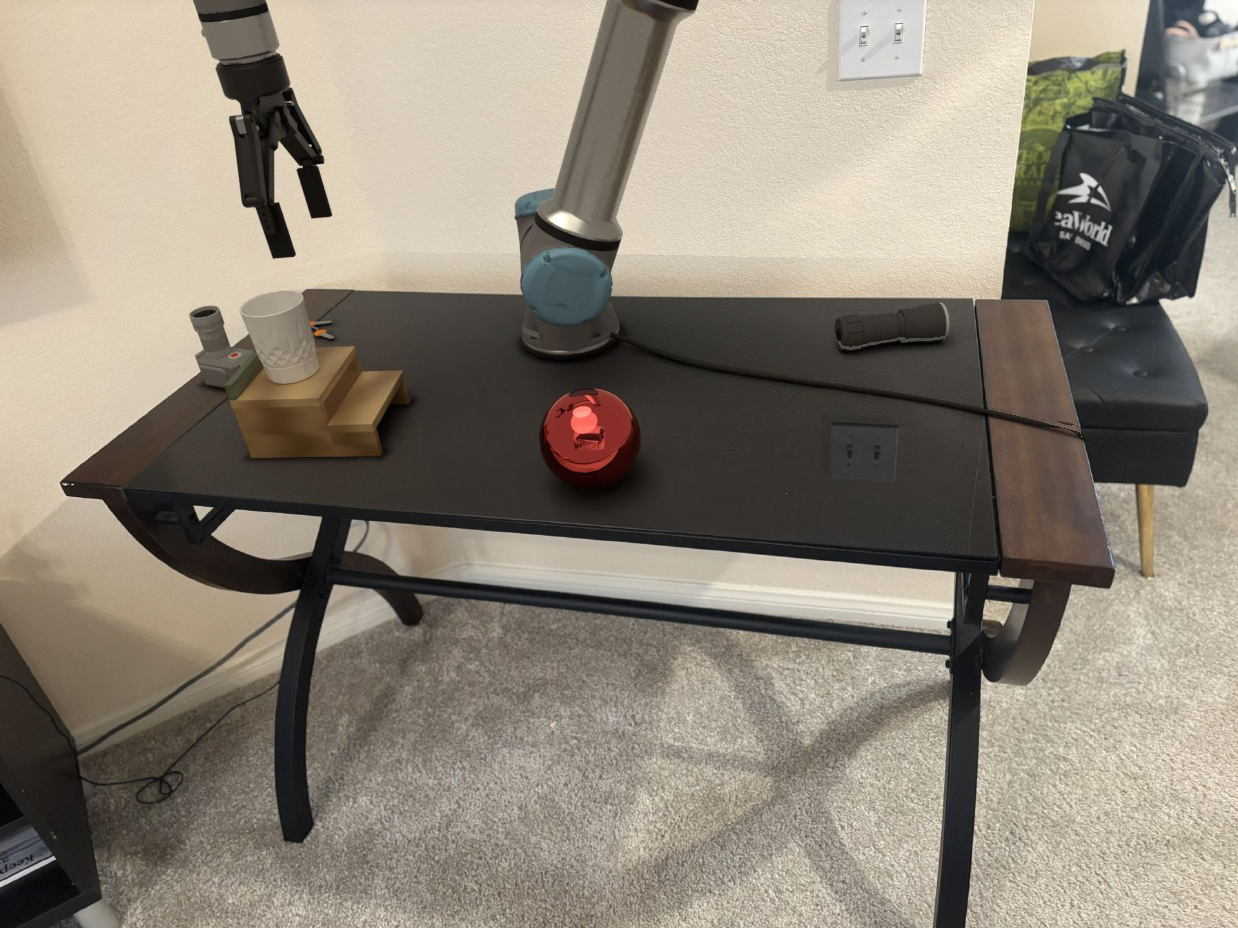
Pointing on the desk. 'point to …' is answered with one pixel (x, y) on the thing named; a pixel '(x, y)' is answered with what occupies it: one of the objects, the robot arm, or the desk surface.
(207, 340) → the camera
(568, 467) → the ball
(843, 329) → the flashlight
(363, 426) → the shelf stand
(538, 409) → the desk surface
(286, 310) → the white cup
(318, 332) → the key chain
